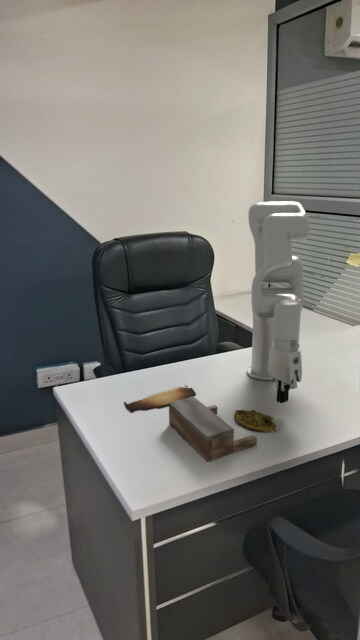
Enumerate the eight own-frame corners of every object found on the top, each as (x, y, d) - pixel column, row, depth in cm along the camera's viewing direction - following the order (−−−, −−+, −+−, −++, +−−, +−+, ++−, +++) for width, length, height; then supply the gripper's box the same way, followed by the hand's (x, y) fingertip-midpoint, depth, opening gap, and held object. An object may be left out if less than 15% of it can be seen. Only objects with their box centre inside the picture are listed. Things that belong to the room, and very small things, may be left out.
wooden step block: (214, 412, 146) (214, 390, 144) (256, 445, 129) (257, 421, 127) (169, 424, 139) (168, 402, 137) (207, 462, 122) (207, 437, 120)
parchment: (186, 385, 165) (186, 382, 165) (202, 395, 157) (202, 393, 157) (120, 404, 153) (120, 402, 153) (135, 417, 145) (134, 414, 145)
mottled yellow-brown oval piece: (224, 423, 143) (266, 441, 133) (223, 409, 141) (266, 427, 131) (244, 409, 149) (285, 426, 139) (243, 395, 147) (285, 412, 137)
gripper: (313, 348, 133) (309, 408, 138) (278, 334, 146) (276, 389, 151) (292, 352, 130) (289, 414, 135) (258, 337, 143) (256, 394, 148)
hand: (282, 401), depth 143 cm, fingers closed
